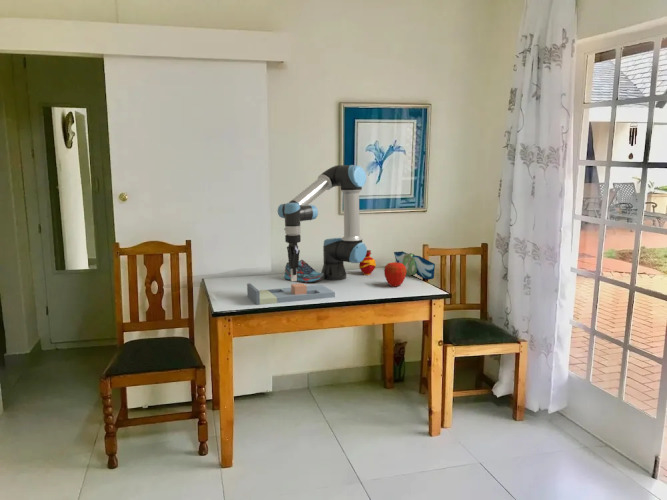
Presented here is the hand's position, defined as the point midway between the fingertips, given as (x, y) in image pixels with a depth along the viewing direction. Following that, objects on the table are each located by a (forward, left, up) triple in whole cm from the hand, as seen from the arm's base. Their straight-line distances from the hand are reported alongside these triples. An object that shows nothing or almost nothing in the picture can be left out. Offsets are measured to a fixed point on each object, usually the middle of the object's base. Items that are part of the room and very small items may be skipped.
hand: (293, 280), depth 268 cm
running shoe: (-16, -31, -8) cm, 36 cm away
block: (-1, +5, -5) cm, 7 cm away
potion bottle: (-57, -32, -8) cm, 66 cm away
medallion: (-80, -20, -8) cm, 83 cm away
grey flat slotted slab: (+2, +1, -8) cm, 8 cm away
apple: (-58, 0, -8) cm, 59 cm away
